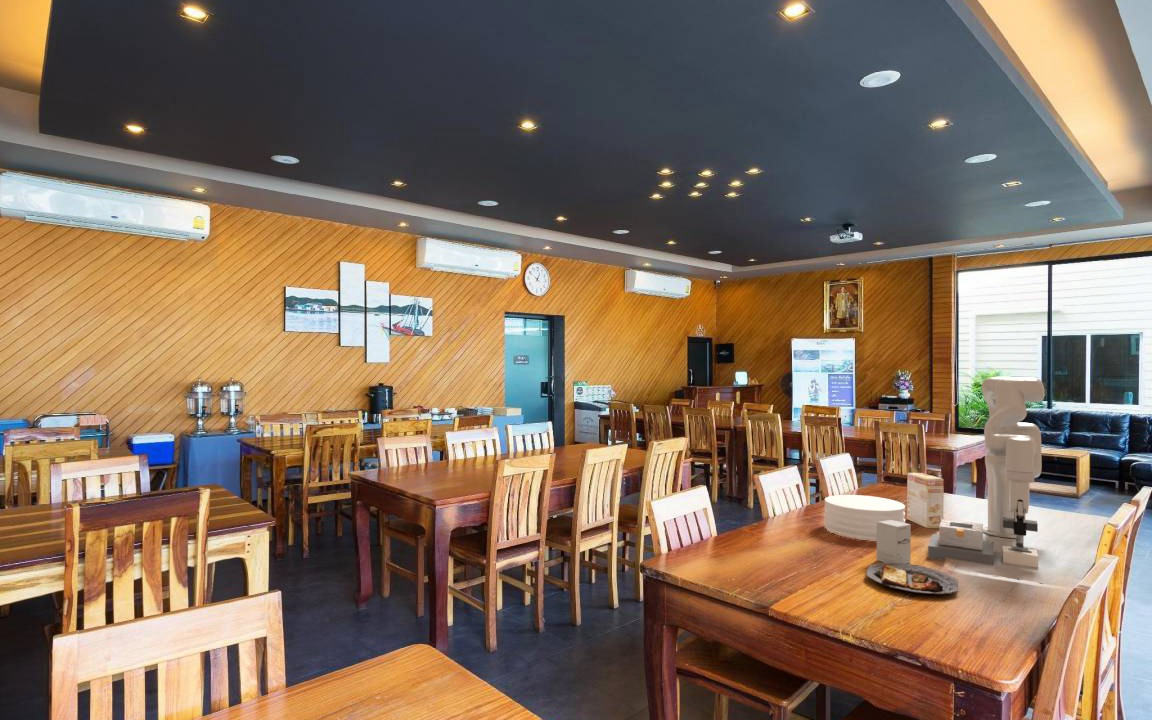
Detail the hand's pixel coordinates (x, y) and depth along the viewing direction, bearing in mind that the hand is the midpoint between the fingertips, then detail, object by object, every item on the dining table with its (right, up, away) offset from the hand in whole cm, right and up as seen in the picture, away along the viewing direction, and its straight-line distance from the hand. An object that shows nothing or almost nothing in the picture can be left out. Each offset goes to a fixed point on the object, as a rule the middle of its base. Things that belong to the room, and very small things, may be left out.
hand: (1019, 532), depth 200 cm
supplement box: (-40, -10, +2) cm, 41 cm away
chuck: (-14, -6, +7) cm, 17 cm away
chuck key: (0, -8, 0) cm, 8 cm away
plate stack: (-32, -11, +39) cm, 52 cm away
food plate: (-45, -10, -19) cm, 50 cm away
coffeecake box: (-1, -11, +52) cm, 53 cm away
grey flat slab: (-14, -10, +8) cm, 19 cm away
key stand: (0, -10, -1) cm, 10 cm away
